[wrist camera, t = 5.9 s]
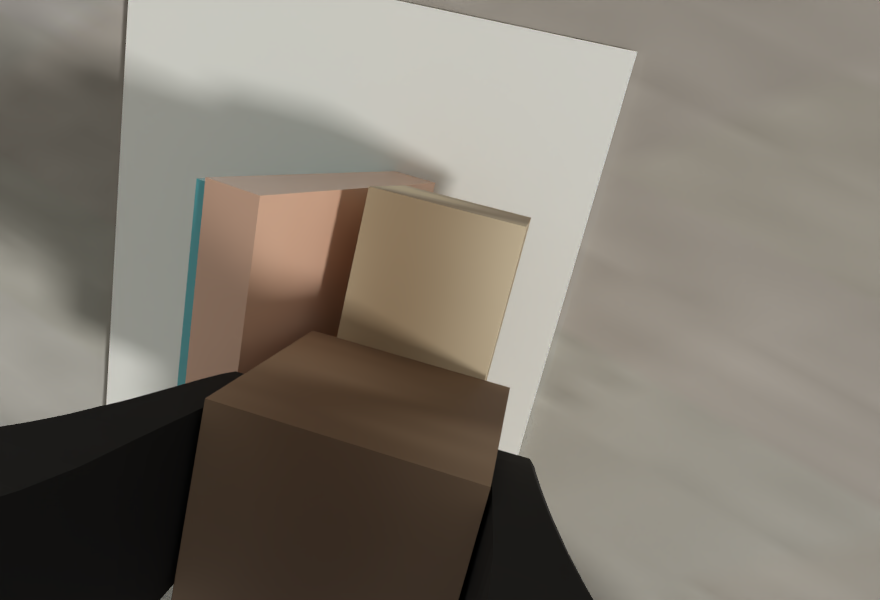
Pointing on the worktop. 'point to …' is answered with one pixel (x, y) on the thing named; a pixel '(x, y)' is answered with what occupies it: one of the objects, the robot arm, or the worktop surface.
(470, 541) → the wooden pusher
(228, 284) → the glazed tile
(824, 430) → the worktop surface
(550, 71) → the rubber mat
